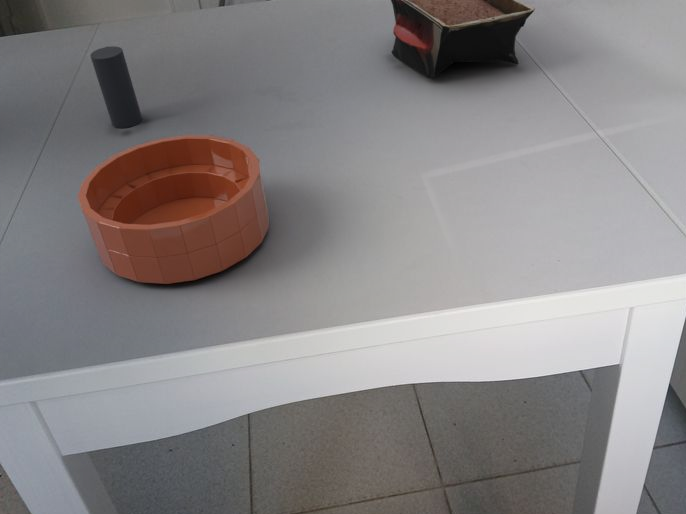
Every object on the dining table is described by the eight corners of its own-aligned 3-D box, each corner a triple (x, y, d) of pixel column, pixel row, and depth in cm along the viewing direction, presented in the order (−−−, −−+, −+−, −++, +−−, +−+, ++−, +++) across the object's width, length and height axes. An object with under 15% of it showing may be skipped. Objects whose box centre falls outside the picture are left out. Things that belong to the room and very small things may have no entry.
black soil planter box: (480, 42, 98) (473, -40, 93) (547, 68, 84) (544, -26, 78) (382, 71, 97) (368, -10, 91) (432, 103, 82) (420, 9, 76)
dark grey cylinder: (110, 129, 83) (88, 60, 78) (114, 116, 86) (92, 48, 81) (140, 125, 84) (120, 56, 78) (143, 112, 86) (124, 44, 81)
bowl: (89, 300, 60) (64, 240, 56) (111, 203, 71) (92, 147, 67) (273, 275, 61) (262, 214, 57) (266, 182, 72) (256, 125, 68)
